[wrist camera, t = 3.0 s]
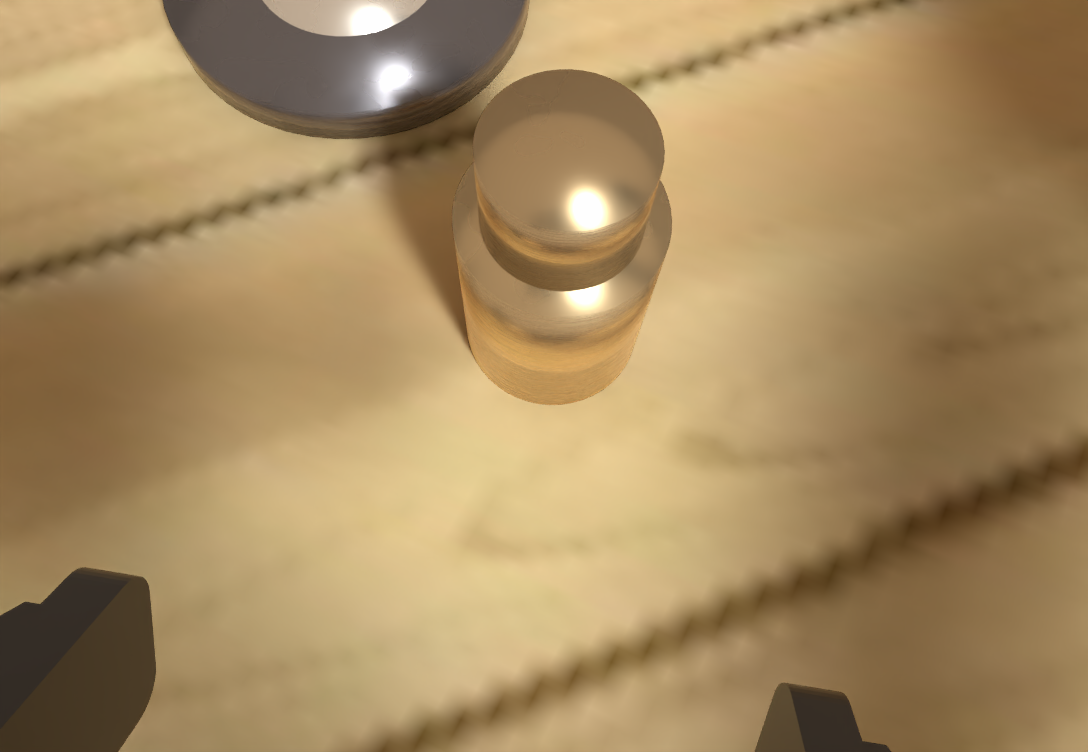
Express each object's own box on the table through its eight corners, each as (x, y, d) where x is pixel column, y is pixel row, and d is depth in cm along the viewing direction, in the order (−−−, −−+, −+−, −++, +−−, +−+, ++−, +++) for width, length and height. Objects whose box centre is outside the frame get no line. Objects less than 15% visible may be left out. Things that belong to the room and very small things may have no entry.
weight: (625, 417, 27) (681, 277, 18) (452, 390, 27) (418, 236, 18) (645, 263, 29) (705, 65, 20) (483, 238, 29) (468, 30, 20)
